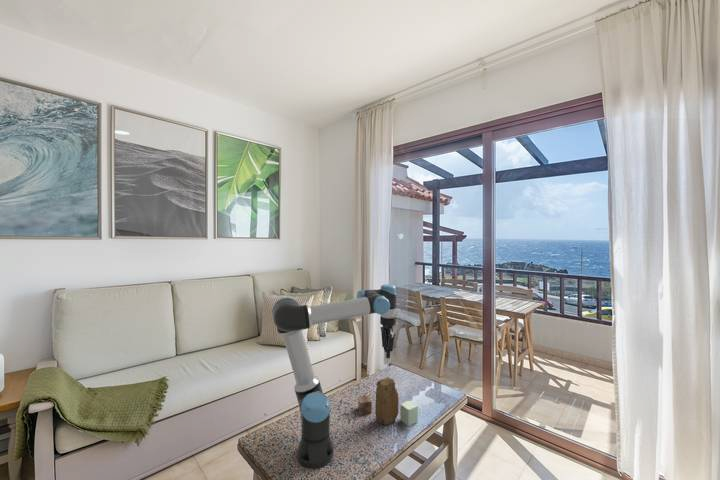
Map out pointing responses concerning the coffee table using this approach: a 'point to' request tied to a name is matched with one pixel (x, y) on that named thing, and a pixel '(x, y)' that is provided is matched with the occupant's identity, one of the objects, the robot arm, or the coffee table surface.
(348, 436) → the coffee table surface
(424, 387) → the coffee table surface
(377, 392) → the pitted sandstone rock
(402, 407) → the green block
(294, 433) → the coffee table surface
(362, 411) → the walnut block
